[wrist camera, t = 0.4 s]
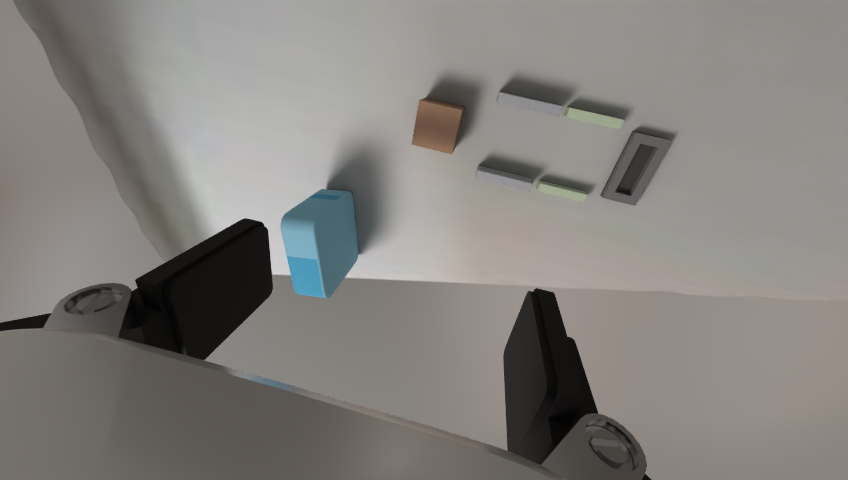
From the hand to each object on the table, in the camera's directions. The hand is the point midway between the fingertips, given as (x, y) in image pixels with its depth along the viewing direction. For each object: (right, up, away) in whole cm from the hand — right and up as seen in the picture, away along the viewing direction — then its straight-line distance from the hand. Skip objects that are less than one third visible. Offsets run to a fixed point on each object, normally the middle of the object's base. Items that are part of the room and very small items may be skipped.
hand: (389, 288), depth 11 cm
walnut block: (+3, +17, +29) cm, 34 cm away
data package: (-12, +4, +39) cm, 41 cm away
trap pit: (+26, +10, +27) cm, 39 cm away
